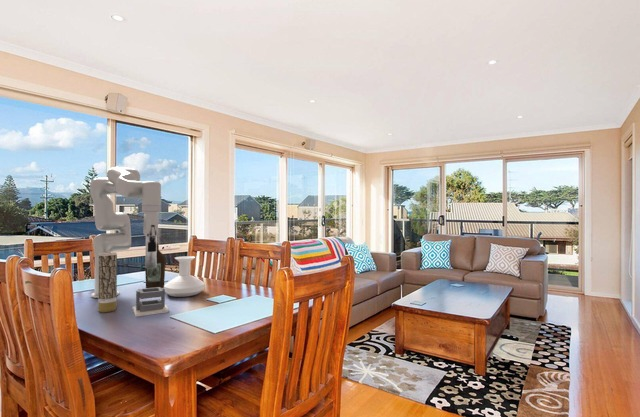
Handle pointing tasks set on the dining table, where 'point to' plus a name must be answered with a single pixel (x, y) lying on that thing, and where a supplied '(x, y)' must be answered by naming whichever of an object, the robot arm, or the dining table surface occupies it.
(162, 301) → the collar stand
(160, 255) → the olive oil
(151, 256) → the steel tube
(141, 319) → the dining table surface
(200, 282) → the white vase
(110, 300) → the bark-patterned cylinder
